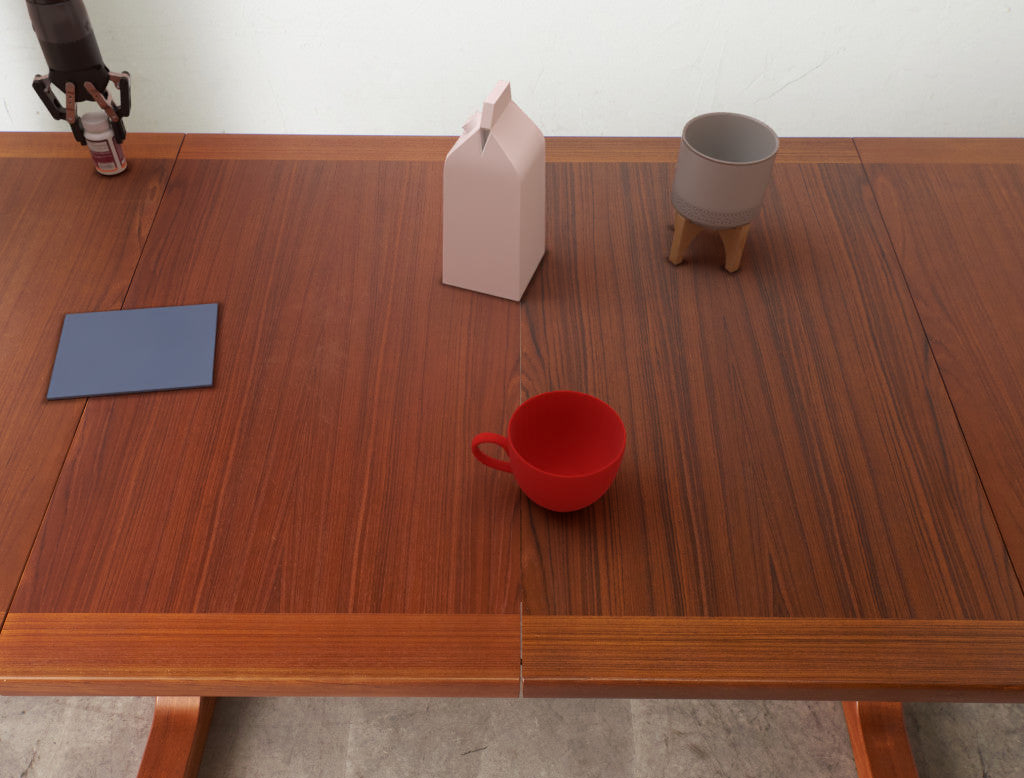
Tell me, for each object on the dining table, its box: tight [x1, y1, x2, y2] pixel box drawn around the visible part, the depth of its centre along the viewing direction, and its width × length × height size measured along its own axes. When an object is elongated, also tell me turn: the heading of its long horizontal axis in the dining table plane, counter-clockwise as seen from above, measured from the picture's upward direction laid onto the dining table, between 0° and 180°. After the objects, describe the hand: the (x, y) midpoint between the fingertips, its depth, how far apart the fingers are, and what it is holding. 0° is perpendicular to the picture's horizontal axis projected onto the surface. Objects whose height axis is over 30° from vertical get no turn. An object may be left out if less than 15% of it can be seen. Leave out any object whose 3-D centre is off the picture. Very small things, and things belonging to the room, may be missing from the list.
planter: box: [668, 111, 780, 273], centre depth 128 cm, size 13×13×18 cm
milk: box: [442, 79, 547, 302], centre depth 120 cm, size 12×12×26 cm
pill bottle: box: [80, 110, 128, 176], centre depth 140 cm, size 5×5×8 cm
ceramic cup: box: [470, 389, 627, 513], centre depth 101 cm, size 13×17×10 cm
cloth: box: [46, 302, 219, 401], centre depth 118 cm, size 20×16×1 cm
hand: (102, 141), depth 140 cm, fingers closed on pill bottle, 4 cm apart
